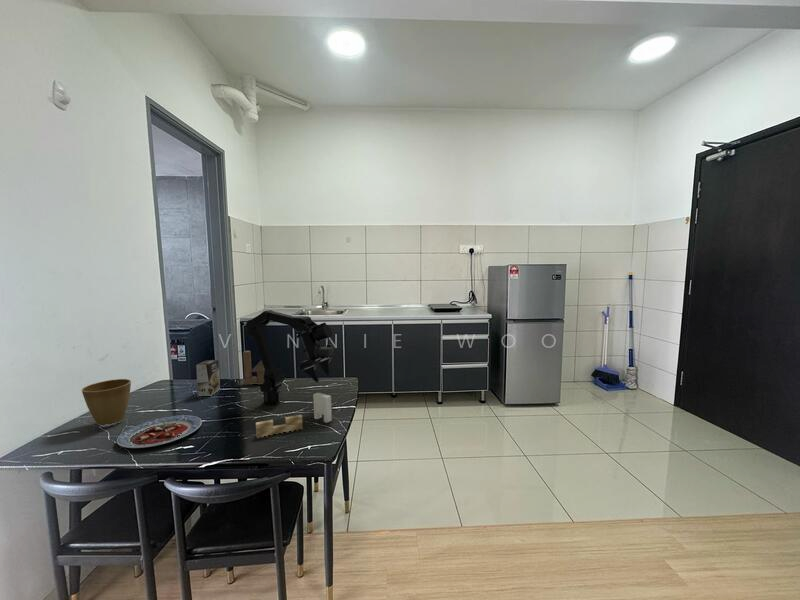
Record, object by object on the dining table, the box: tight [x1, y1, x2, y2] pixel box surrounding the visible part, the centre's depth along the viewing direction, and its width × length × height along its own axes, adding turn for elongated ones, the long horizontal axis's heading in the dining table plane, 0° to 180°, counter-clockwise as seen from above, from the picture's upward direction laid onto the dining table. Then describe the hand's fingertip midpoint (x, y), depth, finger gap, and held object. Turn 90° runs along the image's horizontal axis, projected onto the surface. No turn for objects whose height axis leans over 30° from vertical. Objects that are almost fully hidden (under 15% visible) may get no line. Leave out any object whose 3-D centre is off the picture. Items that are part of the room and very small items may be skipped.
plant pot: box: [81, 378, 132, 425], centre depth 138 cm, size 15×15×16 cm
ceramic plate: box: [116, 414, 203, 449], centre depth 128 cm, size 26×26×3 cm
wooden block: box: [242, 350, 265, 385], centre depth 185 cm, size 4×11×18 cm, turn 95°
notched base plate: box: [255, 414, 304, 439], centre depth 128 cm, size 16×2×5 cm, turn 115°
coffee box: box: [195, 359, 221, 397], centre depth 171 cm, size 9×6×16 cm
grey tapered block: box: [312, 392, 333, 423], centre depth 139 cm, size 8×2×10 cm, turn 55°
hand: (323, 378), depth 150 cm, fingers open, 9 cm apart
